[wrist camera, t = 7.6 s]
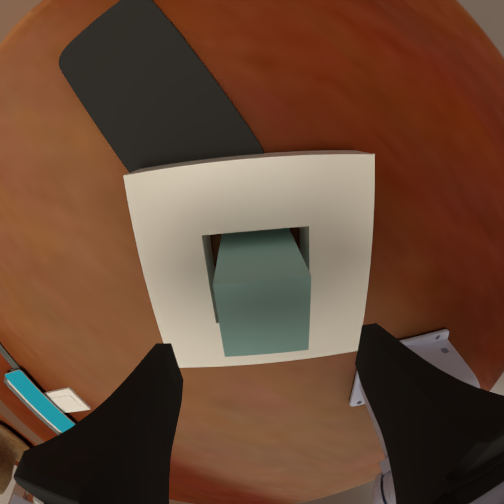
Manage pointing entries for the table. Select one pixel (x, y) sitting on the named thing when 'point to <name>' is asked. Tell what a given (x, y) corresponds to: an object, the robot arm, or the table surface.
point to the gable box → (8, 489)
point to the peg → (262, 293)
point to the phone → (152, 91)
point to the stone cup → (9, 455)
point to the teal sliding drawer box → (44, 398)
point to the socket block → (252, 219)
